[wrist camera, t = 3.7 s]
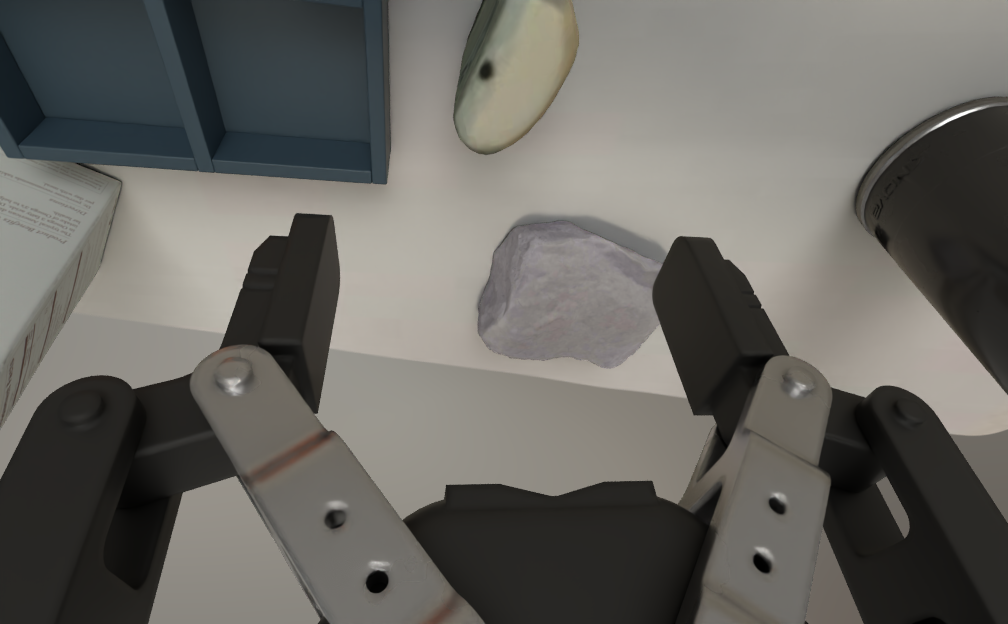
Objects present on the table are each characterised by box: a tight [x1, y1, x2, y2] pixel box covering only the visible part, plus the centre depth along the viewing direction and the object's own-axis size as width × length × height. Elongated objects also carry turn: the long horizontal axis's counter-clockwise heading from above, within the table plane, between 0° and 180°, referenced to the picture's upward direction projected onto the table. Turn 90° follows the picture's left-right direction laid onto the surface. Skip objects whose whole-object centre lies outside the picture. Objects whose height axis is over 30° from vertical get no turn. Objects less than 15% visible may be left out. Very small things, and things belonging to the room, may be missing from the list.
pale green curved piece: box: [453, 0, 579, 155], centre depth 20 cm, size 6×5×8 cm
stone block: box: [478, 221, 663, 368], centre depth 35 cm, size 12×5×10 cm
